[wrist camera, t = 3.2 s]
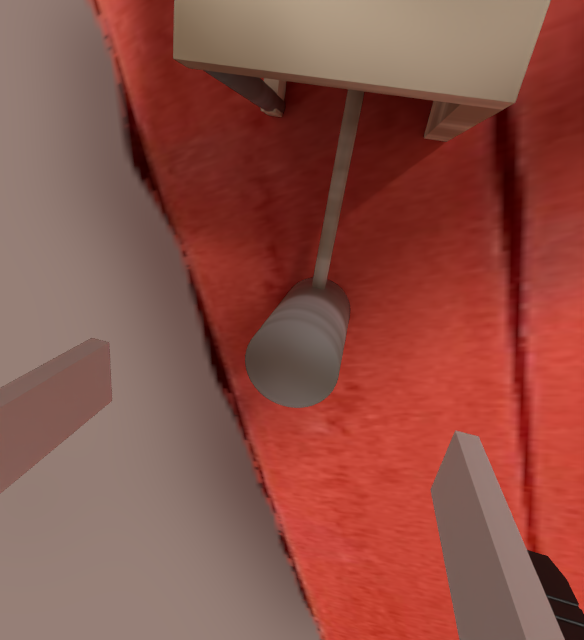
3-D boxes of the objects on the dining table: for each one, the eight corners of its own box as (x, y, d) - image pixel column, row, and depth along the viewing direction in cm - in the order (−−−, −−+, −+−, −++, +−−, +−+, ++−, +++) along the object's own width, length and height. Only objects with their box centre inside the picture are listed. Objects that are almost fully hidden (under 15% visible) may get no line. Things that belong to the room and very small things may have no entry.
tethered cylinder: (347, -138, 16) (323, -415, 8) (463, -133, 15) (547, -432, 8) (276, 330, 25) (235, 392, 17) (347, 347, 24) (334, 419, 17)
